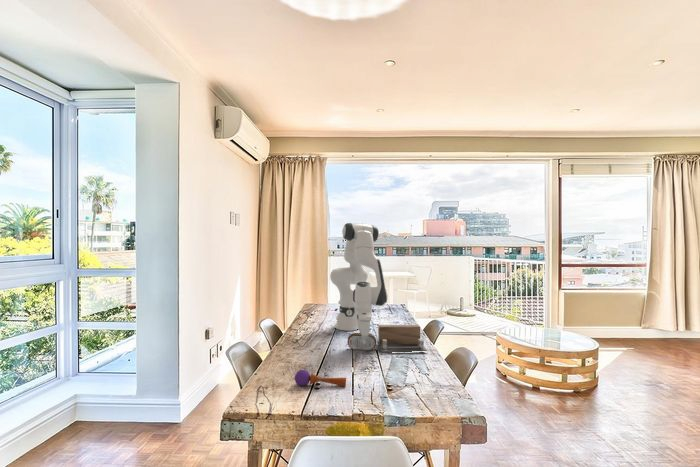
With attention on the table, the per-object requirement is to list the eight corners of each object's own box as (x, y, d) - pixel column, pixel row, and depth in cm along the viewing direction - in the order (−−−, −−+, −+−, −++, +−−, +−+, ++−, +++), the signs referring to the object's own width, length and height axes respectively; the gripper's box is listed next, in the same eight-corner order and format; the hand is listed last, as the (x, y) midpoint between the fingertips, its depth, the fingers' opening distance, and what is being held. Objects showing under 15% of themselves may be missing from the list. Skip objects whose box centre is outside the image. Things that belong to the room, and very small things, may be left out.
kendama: (346, 379, 131) (293, 374, 132) (344, 393, 132) (293, 388, 133) (346, 370, 137) (296, 365, 138) (345, 384, 138) (296, 379, 139)
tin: (376, 349, 180) (376, 333, 180) (376, 351, 177) (376, 335, 177) (347, 348, 182) (347, 332, 182) (347, 350, 179) (347, 333, 179)
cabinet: (377, 344, 190) (377, 324, 190) (418, 343, 191) (418, 324, 191) (382, 353, 174) (382, 332, 174) (427, 353, 175) (427, 332, 175)
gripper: (355, 310, 190) (354, 335, 189) (358, 317, 169) (358, 346, 169) (366, 309, 190) (366, 335, 190) (371, 317, 170) (371, 346, 169)
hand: (362, 340), depth 179 cm, fingers open, 8 cm apart
